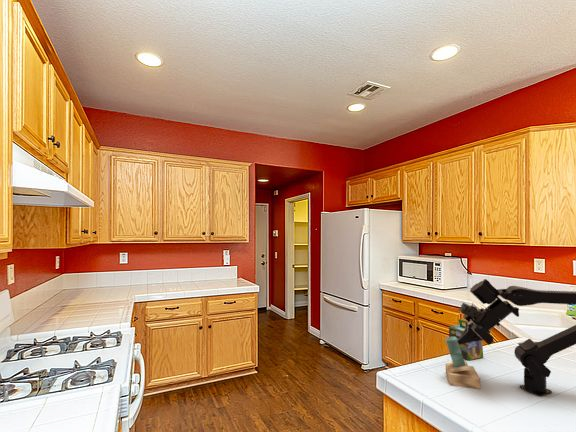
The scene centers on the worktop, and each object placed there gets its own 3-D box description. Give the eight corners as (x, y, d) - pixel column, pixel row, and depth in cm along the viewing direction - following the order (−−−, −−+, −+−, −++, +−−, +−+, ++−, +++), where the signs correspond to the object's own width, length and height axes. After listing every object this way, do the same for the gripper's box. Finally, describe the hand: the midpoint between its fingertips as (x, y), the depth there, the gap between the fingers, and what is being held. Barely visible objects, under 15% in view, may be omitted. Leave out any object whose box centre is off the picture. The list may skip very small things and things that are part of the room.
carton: (473, 376, 117) (473, 366, 118) (480, 389, 108) (479, 378, 108) (445, 372, 120) (445, 363, 120) (450, 384, 111) (449, 374, 111)
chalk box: (483, 358, 134) (483, 321, 135) (467, 361, 131) (466, 323, 132) (464, 350, 143) (463, 316, 144) (448, 353, 140) (448, 318, 140)
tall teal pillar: (465, 361, 117) (456, 334, 119) (469, 369, 110) (460, 340, 111) (447, 364, 119) (439, 337, 120) (451, 372, 112) (441, 344, 113)
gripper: (469, 291, 123) (437, 318, 126) (481, 301, 105) (444, 332, 108) (493, 314, 120) (460, 341, 123) (510, 329, 102) (471, 360, 105)
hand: (458, 342), depth 115 cm, fingers closed, pressing on tall teal pillar
